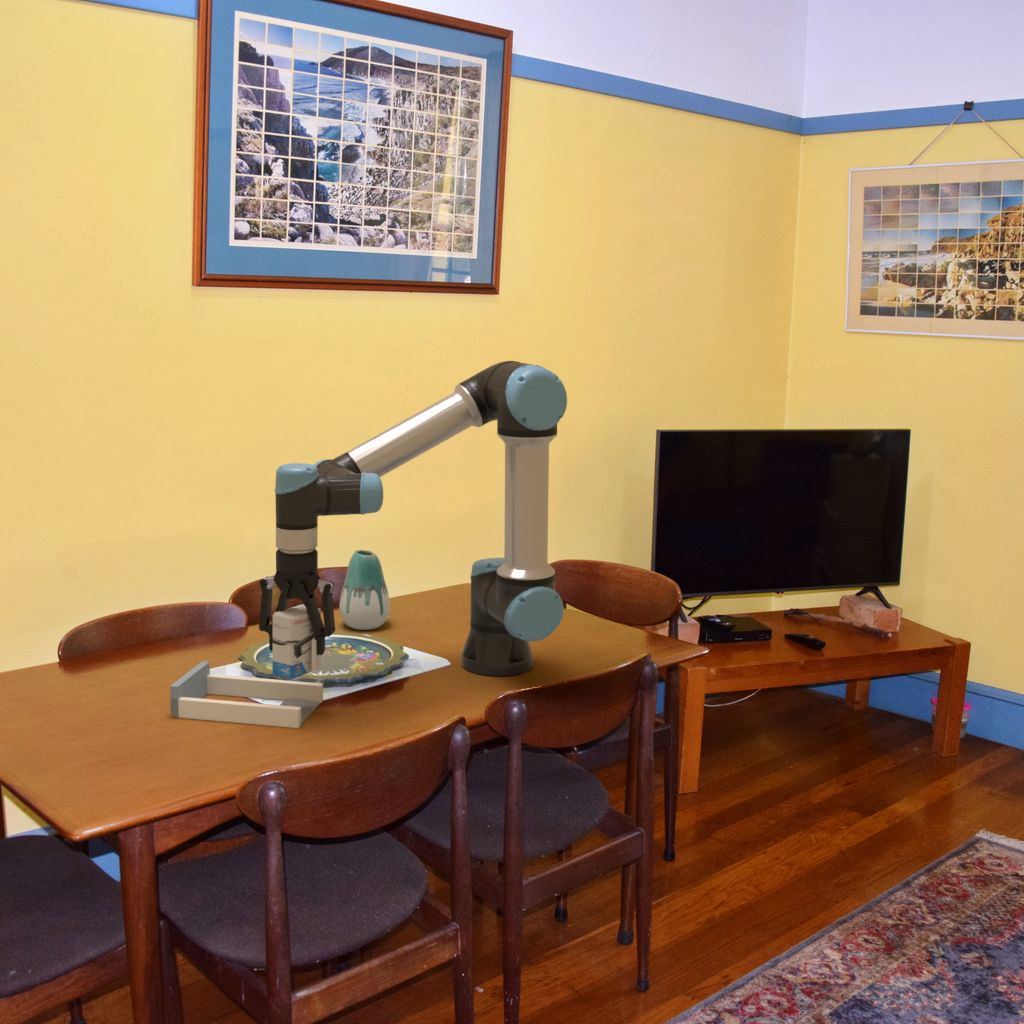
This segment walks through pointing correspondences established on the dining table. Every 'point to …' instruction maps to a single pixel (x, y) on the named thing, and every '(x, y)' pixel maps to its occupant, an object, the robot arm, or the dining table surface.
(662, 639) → the dining table surface
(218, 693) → the bay
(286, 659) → the ink box
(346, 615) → the vase
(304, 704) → the mat
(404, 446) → the robot arm
